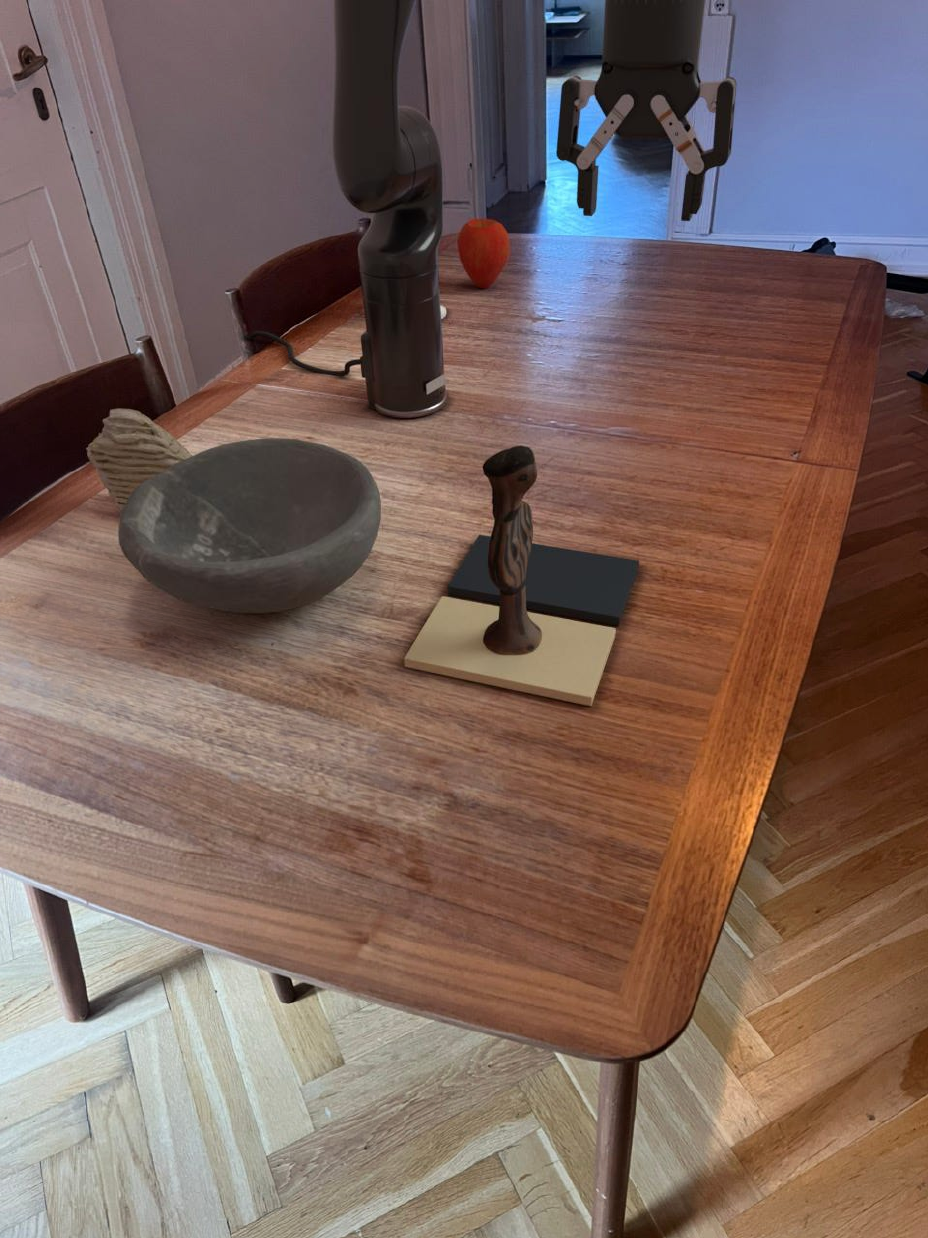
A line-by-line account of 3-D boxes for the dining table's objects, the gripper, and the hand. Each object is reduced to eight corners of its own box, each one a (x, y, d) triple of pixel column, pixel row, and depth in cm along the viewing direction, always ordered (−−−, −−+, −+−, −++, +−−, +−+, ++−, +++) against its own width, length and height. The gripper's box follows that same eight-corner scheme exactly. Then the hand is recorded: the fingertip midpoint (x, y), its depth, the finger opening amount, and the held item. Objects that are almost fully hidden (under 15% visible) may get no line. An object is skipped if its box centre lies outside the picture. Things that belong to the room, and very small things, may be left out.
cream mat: (404, 667, 74) (403, 658, 74) (442, 604, 81) (441, 595, 80) (591, 706, 70) (591, 697, 69) (615, 636, 76) (616, 627, 76)
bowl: (280, 695, 72) (257, 598, 66) (96, 611, 82) (61, 520, 76) (435, 554, 87) (428, 464, 81) (264, 497, 97) (246, 413, 91)
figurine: (523, 676, 71) (524, 481, 60) (466, 661, 73) (456, 469, 62) (552, 621, 77) (557, 433, 65) (498, 609, 78) (494, 423, 67)
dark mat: (448, 594, 82) (447, 586, 81) (479, 542, 89) (479, 534, 88) (618, 626, 77) (619, 617, 77) (638, 568, 84) (639, 560, 83)
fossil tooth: (212, 540, 93) (88, 511, 96) (240, 507, 98) (121, 480, 100) (193, 446, 85) (58, 417, 88) (225, 414, 90) (95, 388, 93)
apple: (519, 282, 149) (519, 214, 142) (493, 298, 144) (492, 227, 137) (476, 275, 153) (474, 208, 146) (449, 290, 148) (445, 221, 141)
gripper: (757, -17, 68) (725, 209, 78) (576, -13, 72) (568, 201, 82) (747, -8, 62) (714, 233, 73) (551, -5, 66) (546, 223, 77)
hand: (637, 216), depth 77 cm, fingers open, 8 cm apart
